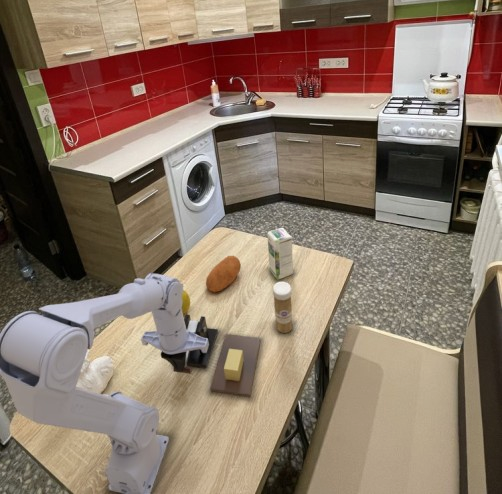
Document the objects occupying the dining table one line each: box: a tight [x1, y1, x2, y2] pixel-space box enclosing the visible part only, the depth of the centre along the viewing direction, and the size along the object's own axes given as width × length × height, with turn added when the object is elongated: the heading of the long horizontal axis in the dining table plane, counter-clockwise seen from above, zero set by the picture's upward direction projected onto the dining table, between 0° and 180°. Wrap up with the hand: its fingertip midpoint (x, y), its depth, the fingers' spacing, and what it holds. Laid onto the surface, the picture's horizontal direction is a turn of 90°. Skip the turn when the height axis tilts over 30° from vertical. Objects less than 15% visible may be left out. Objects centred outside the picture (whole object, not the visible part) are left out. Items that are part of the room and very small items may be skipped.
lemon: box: [181, 289, 191, 315], centre depth 96 cm, size 6×6×8 cm
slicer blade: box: [172, 319, 199, 375], centre depth 81 cm, size 11×4×2 cm, turn 168°
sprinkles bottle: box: [272, 281, 293, 334], centre depth 88 cm, size 5×5×14 cm
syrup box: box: [266, 227, 294, 281], centre depth 106 cm, size 6×6×14 cm
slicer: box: [184, 314, 219, 369], centre depth 85 cm, size 10×8×9 cm
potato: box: [205, 255, 242, 293], centre depth 106 cm, size 7×13×7 cm, turn 137°
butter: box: [224, 349, 244, 381], centre depth 79 cm, size 5×3×4 cm, turn 169°
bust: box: [76, 349, 115, 394], centre depth 78 cm, size 12×8×11 cm
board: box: [209, 333, 261, 398], centre depth 82 cm, size 14×9×1 cm, turn 169°
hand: (181, 367), depth 77 cm, fingers closed
